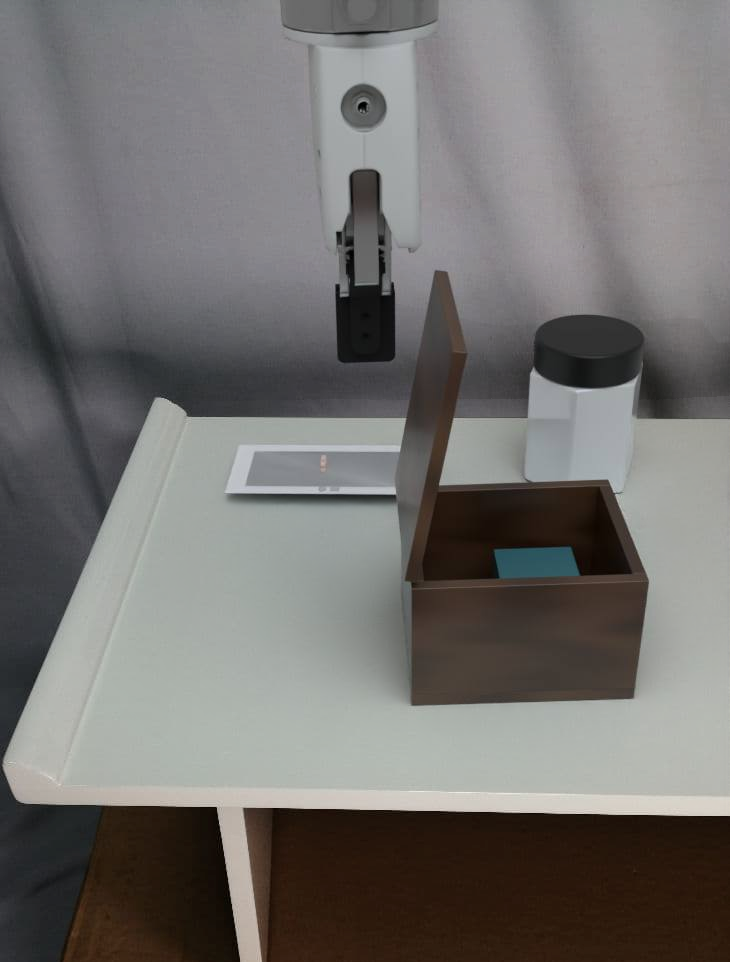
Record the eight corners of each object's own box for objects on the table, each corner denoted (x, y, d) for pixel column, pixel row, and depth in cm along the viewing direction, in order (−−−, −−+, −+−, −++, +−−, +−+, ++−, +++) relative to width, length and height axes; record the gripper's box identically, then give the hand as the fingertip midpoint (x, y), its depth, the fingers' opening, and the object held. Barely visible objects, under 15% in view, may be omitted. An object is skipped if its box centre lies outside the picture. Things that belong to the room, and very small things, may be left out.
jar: (611, 442, 99) (625, 307, 92) (650, 491, 92) (668, 349, 85) (508, 455, 98) (515, 319, 91) (540, 505, 91) (549, 362, 84)
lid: (448, 271, 69) (434, 269, 69) (468, 352, 59) (452, 350, 59) (406, 481, 77) (394, 479, 77) (418, 583, 67) (404, 581, 67)
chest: (597, 588, 82) (608, 478, 77) (633, 698, 72) (649, 580, 67) (401, 594, 82) (400, 486, 77) (411, 705, 72) (411, 589, 67)
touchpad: (240, 456, 99) (238, 433, 98) (417, 457, 98) (417, 434, 97) (226, 504, 93) (223, 481, 92) (415, 506, 92) (415, 482, 90)
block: (565, 608, 78) (571, 546, 76) (579, 655, 74) (585, 591, 71) (490, 611, 79) (493, 548, 76) (499, 658, 74) (503, 594, 72)
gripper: (453, 24, 49) (444, 415, 59) (427, -27, 62) (423, 303, 72) (274, 31, 49) (296, 420, 59) (285, -21, 62) (301, 307, 72)
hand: (366, 355), depth 66 cm, fingers closed
